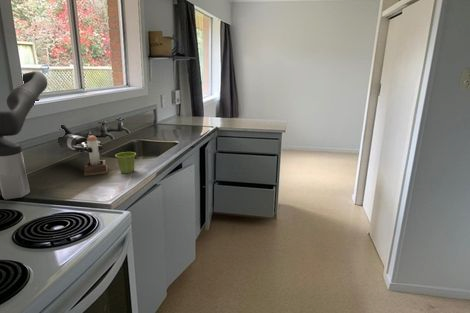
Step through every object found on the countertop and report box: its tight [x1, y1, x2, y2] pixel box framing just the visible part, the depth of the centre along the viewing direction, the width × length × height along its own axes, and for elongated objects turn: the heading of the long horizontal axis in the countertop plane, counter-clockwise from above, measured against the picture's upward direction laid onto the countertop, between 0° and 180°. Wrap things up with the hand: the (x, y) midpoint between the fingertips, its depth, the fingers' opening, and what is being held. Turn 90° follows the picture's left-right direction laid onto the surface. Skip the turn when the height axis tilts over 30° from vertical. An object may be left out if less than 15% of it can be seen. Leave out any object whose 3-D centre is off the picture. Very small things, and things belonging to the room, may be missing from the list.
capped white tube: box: [86, 135, 101, 166], centre depth 151 cm, size 4×4×15 cm
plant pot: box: [115, 151, 137, 174], centre depth 152 cm, size 9×9×9 cm
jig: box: [84, 159, 108, 176], centre depth 153 cm, size 10×10×4 cm
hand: (96, 149), depth 149 cm, fingers closed on capped white tube, 4 cm apart
